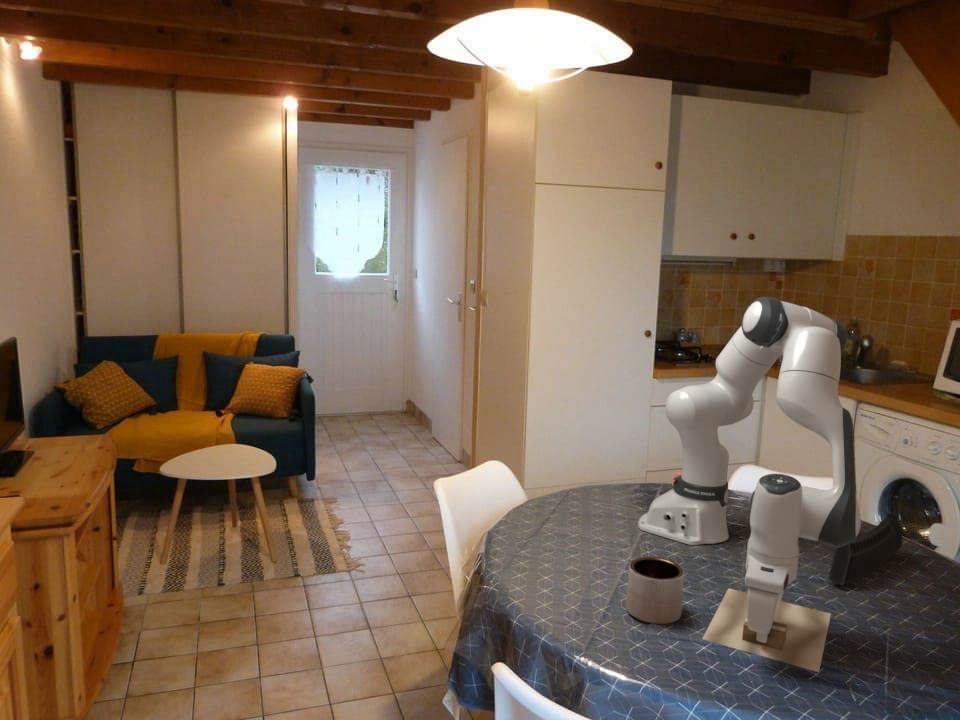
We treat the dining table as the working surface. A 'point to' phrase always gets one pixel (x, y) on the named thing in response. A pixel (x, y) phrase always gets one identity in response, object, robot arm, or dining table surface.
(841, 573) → the dark grey curved slab
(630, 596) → the planter
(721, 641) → the cork mat
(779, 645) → the brown small block
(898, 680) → the dining table surface
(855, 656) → the dining table surface
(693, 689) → the dining table surface
